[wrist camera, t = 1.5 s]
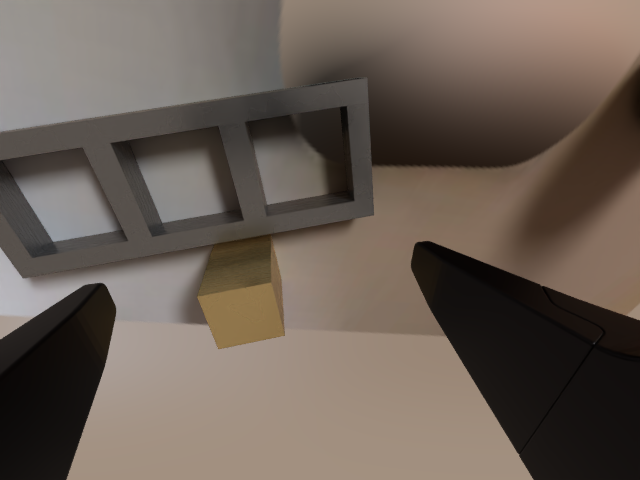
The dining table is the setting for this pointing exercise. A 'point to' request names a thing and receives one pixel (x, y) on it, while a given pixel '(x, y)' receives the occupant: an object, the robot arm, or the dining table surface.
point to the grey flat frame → (133, 195)
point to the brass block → (243, 292)
